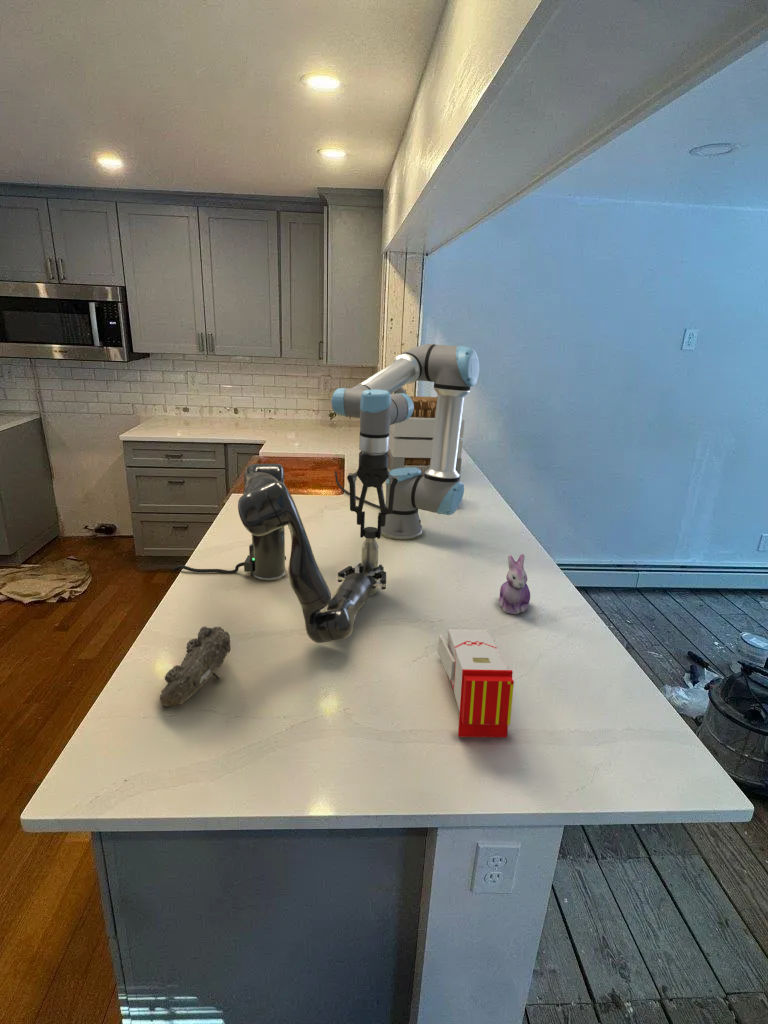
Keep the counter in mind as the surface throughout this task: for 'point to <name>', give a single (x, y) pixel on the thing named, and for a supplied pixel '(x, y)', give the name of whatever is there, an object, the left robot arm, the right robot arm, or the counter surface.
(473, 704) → the toy
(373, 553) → the bottle
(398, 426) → the light grey slatted box
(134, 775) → the counter surface
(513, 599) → the figurine
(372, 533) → the cap
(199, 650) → the fossil
